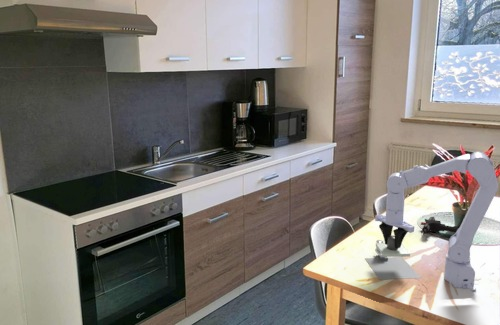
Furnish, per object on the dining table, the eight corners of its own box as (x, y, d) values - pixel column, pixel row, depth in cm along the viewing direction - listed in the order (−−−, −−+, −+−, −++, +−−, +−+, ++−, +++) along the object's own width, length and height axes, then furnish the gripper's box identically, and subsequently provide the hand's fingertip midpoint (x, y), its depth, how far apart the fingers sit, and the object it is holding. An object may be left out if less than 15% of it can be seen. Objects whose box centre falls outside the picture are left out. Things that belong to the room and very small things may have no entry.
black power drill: (462, 218, 191) (425, 213, 199) (457, 229, 175) (417, 222, 182) (460, 230, 192) (424, 224, 200) (455, 241, 176) (416, 234, 183)
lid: (409, 256, 148) (410, 242, 147) (383, 256, 148) (383, 243, 147) (401, 245, 156) (401, 232, 155) (375, 245, 157) (376, 232, 155)
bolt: (386, 257, 159) (387, 245, 158) (379, 257, 159) (380, 246, 158) (381, 250, 164) (381, 239, 163) (374, 251, 164) (375, 239, 163)
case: (420, 281, 147) (421, 274, 146) (379, 283, 146) (379, 276, 145) (401, 260, 162) (401, 254, 162) (364, 262, 162) (364, 255, 161)
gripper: (420, 211, 145) (418, 249, 148) (384, 200, 157) (383, 236, 160) (407, 216, 141) (405, 255, 144) (371, 204, 153) (370, 241, 156)
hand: (392, 245), depth 152 cm, fingers closed on lid, 4 cm apart
